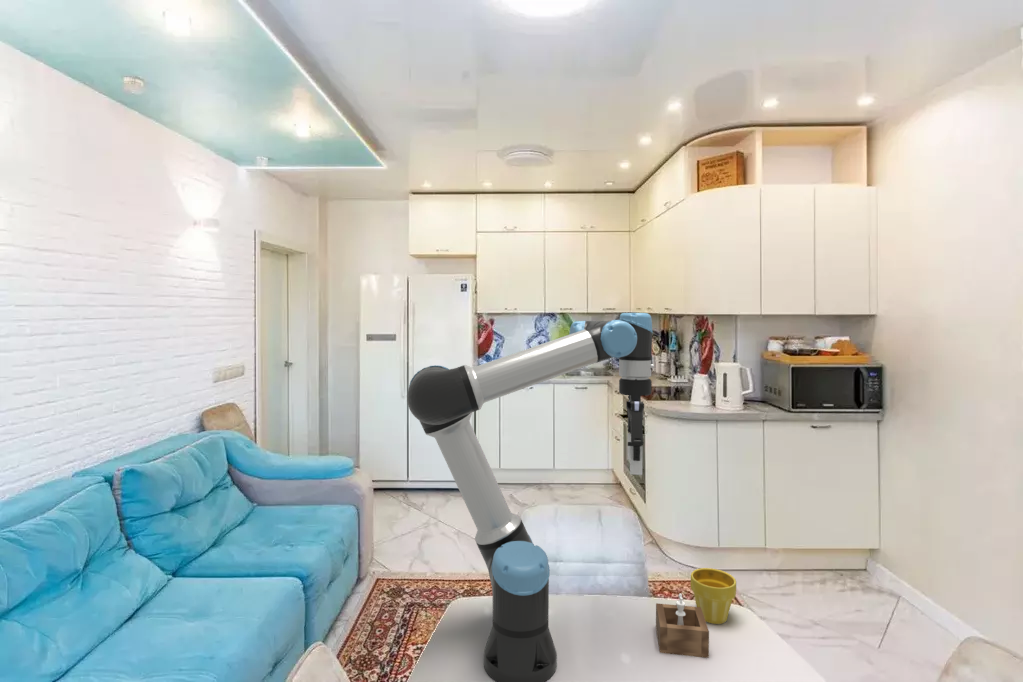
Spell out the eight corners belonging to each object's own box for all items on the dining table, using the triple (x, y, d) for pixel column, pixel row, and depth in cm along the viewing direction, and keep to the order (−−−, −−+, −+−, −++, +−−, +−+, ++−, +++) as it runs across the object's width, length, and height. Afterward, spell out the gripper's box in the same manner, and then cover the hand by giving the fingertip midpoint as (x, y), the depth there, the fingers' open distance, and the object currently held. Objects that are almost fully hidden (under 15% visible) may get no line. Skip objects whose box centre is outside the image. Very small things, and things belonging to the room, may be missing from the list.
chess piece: (672, 644, 117) (672, 599, 117) (666, 632, 122) (666, 588, 122) (695, 645, 117) (695, 599, 117) (688, 632, 122) (688, 588, 122)
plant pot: (740, 631, 124) (740, 589, 124) (693, 626, 126) (693, 585, 126) (731, 608, 134) (731, 569, 134) (687, 604, 136) (688, 565, 136)
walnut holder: (659, 654, 116) (660, 626, 116) (655, 628, 126) (656, 603, 125) (708, 659, 114) (709, 631, 114) (700, 633, 124) (700, 607, 124)
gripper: (656, 383, 115) (655, 482, 115) (647, 373, 139) (646, 454, 140) (620, 382, 116) (619, 480, 117) (618, 373, 141) (617, 453, 141)
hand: (634, 466), depth 128 cm, fingers open, 13 cm apart
